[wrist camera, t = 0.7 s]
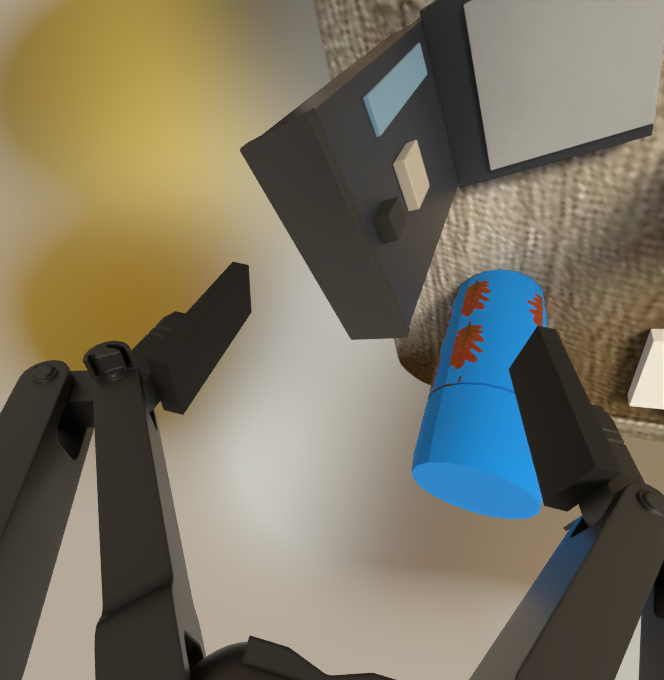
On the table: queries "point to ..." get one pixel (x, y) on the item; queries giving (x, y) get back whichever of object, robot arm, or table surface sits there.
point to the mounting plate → (649, 374)
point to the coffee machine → (448, 134)
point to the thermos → (482, 401)
